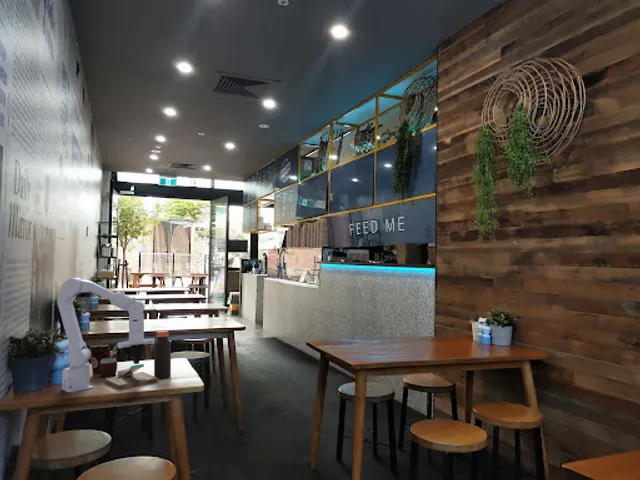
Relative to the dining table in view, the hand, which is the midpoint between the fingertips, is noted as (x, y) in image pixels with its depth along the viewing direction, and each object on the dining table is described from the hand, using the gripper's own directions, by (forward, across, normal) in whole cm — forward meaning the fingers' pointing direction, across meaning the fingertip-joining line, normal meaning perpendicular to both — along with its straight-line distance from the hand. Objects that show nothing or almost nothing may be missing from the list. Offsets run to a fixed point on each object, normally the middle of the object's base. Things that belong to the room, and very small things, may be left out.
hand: (136, 363), depth 198 cm
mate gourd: (+9, -2, +22) cm, 24 cm away
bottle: (+9, +13, +4) cm, 16 cm away
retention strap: (+4, 0, +4) cm, 5 cm away
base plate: (+9, 0, +4) cm, 10 cm away
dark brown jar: (+9, -4, +28) cm, 30 cm away
